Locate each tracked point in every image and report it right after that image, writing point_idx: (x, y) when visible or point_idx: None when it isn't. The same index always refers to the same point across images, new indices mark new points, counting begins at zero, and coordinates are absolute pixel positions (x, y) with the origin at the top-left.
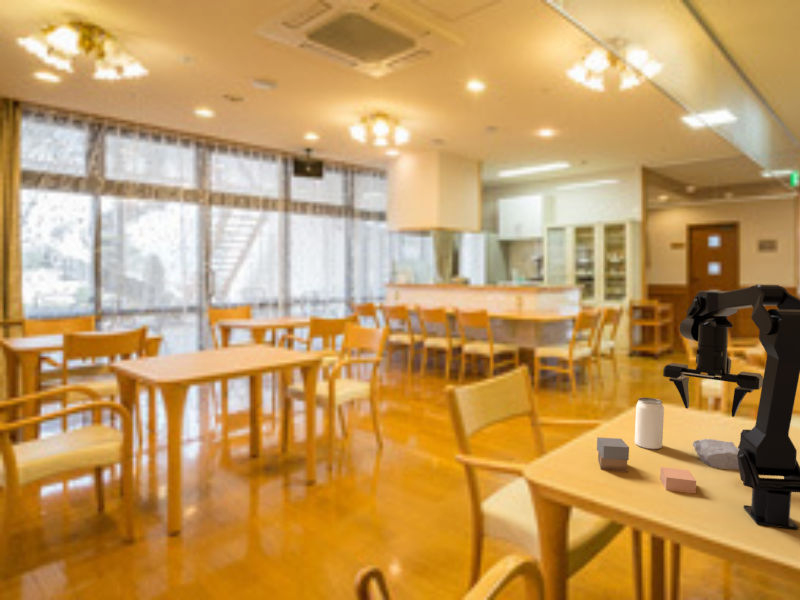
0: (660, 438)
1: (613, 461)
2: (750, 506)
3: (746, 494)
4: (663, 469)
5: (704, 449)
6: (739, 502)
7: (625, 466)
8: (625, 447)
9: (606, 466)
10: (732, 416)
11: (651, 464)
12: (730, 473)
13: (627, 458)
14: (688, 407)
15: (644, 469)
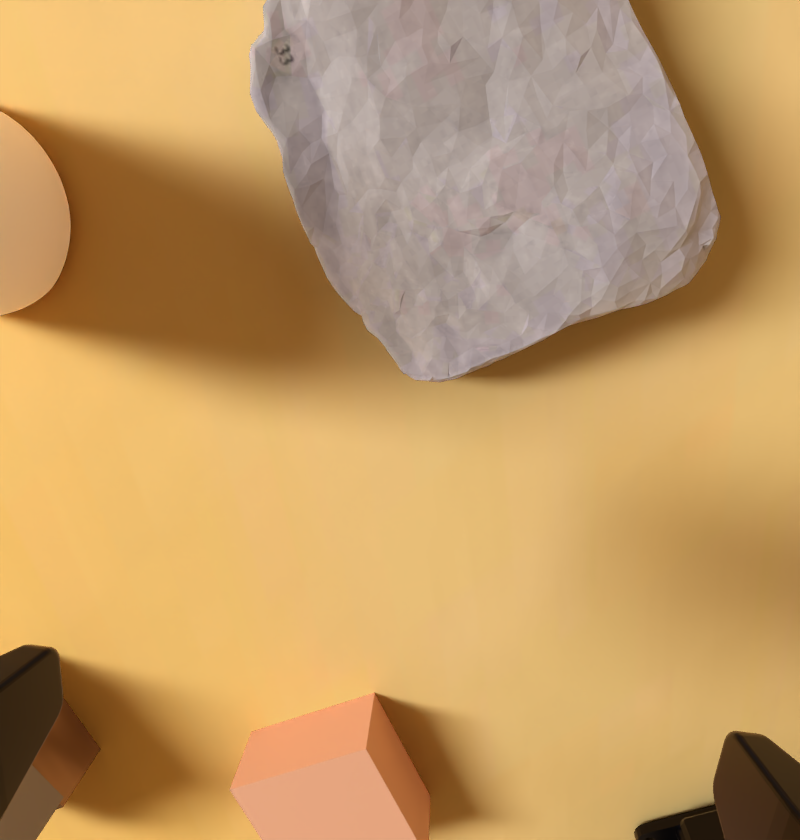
0: (19, 250)
1: None
2: (665, 835)
3: (649, 669)
4: (253, 816)
5: (367, 223)
6: (616, 776)
7: (76, 776)
8: None
9: None
10: (722, 793)
11: (147, 571)
12: (564, 407)
13: (53, 807)
14: (54, 662)
15: (148, 664)
